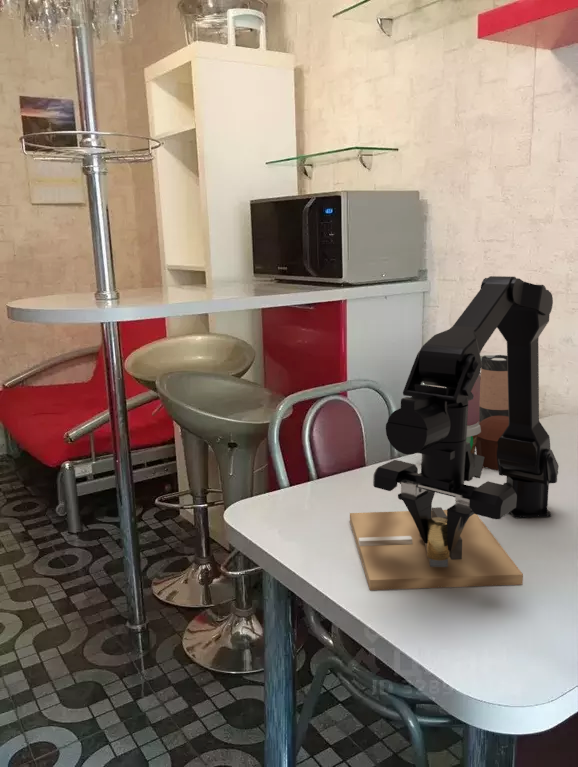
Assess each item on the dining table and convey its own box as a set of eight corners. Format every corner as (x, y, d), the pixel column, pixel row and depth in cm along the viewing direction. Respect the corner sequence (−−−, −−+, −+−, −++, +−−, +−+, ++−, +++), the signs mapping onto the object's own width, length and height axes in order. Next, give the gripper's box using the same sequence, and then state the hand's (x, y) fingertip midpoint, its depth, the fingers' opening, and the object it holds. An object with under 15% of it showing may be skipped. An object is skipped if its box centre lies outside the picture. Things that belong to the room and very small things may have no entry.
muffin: (460, 459, 144) (461, 414, 142) (500, 452, 148) (502, 408, 146) (499, 476, 133) (501, 428, 131) (540, 467, 138) (543, 420, 136)
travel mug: (507, 448, 150) (511, 361, 146) (473, 444, 154) (476, 359, 150) (516, 440, 157) (520, 356, 152) (483, 435, 161) (486, 353, 156)
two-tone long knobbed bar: (418, 530, 103) (418, 492, 102) (441, 530, 103) (442, 493, 102) (425, 568, 91) (426, 526, 90) (452, 569, 91) (453, 526, 90)
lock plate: (472, 517, 114) (473, 492, 113) (522, 584, 91) (524, 554, 90) (349, 521, 113) (349, 496, 112) (369, 590, 91) (369, 559, 90)
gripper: (536, 436, 89) (528, 545, 92) (413, 414, 101) (409, 512, 104) (502, 456, 81) (494, 575, 84) (372, 429, 92) (369, 535, 95)
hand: (439, 546), depth 92 cm, fingers open, 3 cm apart
